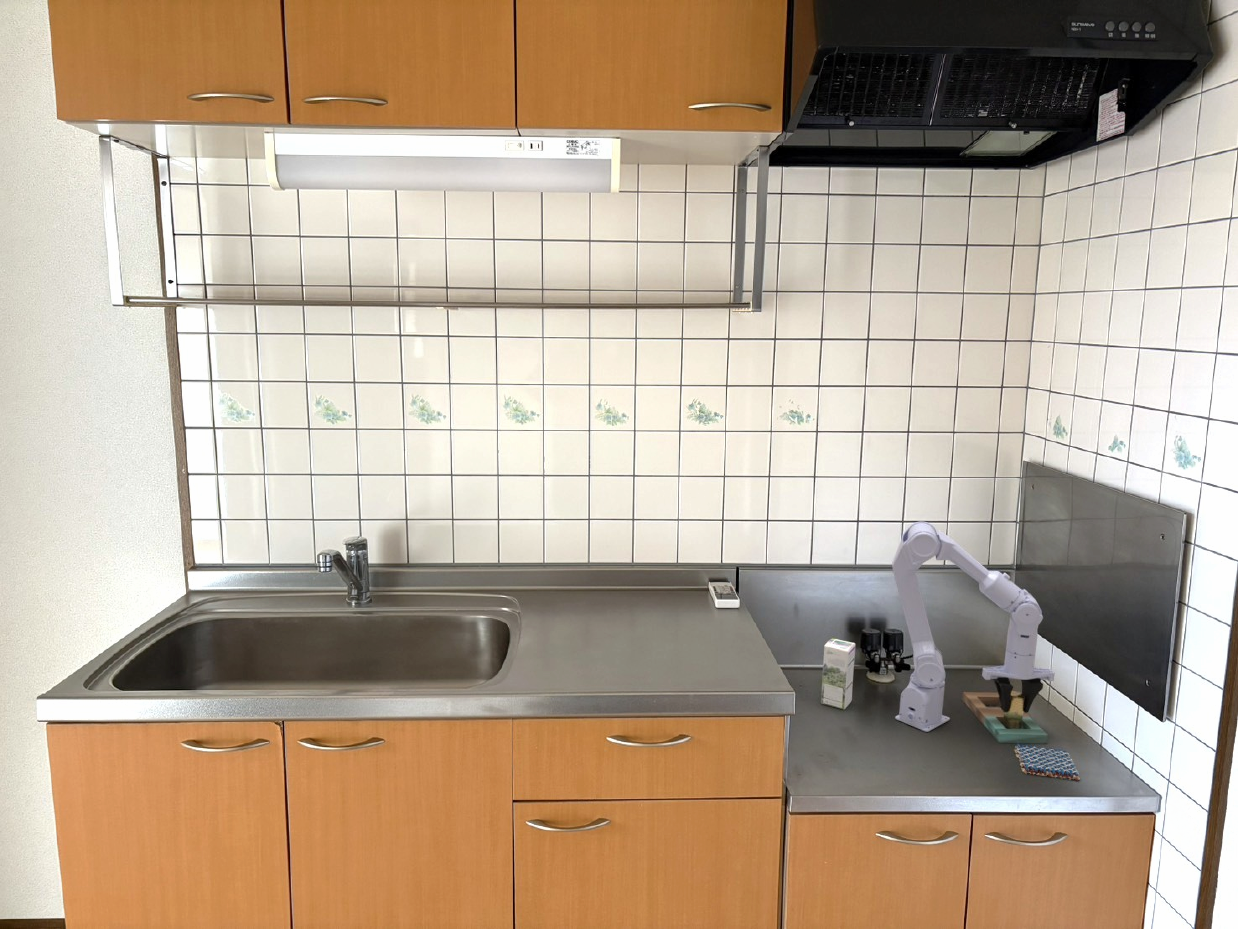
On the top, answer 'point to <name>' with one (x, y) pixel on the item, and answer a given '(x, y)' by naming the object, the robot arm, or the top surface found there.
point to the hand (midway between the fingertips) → (1014, 710)
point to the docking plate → (994, 720)
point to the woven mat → (1046, 762)
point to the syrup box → (838, 673)
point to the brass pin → (1014, 711)
